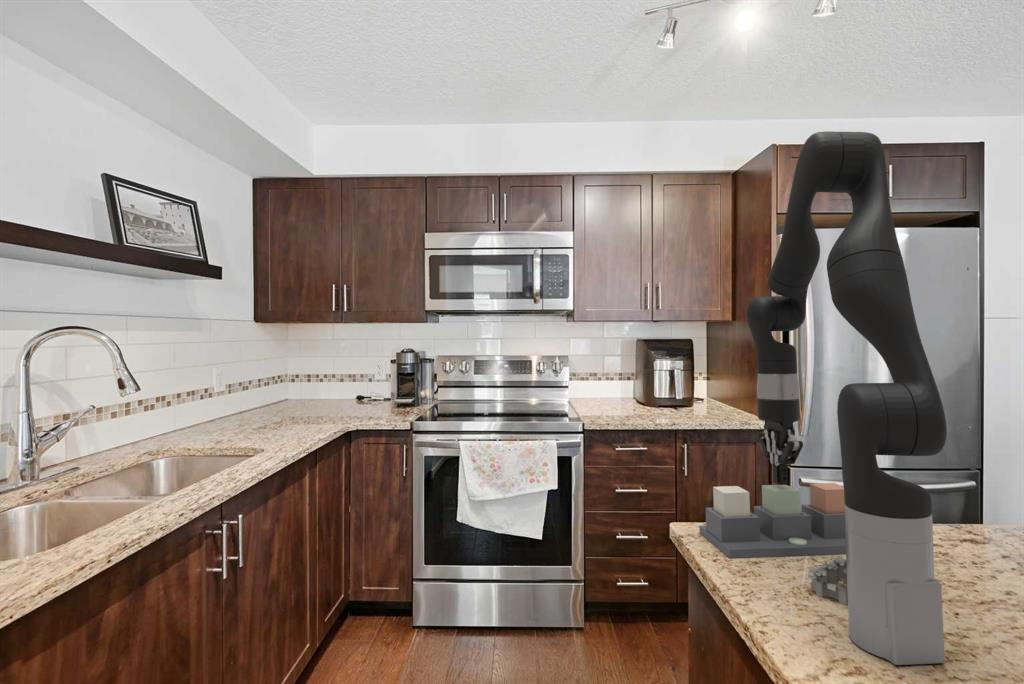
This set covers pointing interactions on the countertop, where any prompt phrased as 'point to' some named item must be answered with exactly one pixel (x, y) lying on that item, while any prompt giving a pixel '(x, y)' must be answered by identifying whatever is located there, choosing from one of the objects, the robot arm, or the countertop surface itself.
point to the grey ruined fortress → (830, 580)
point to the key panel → (776, 533)
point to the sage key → (781, 500)
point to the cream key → (731, 501)
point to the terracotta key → (827, 498)
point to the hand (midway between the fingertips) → (780, 483)
